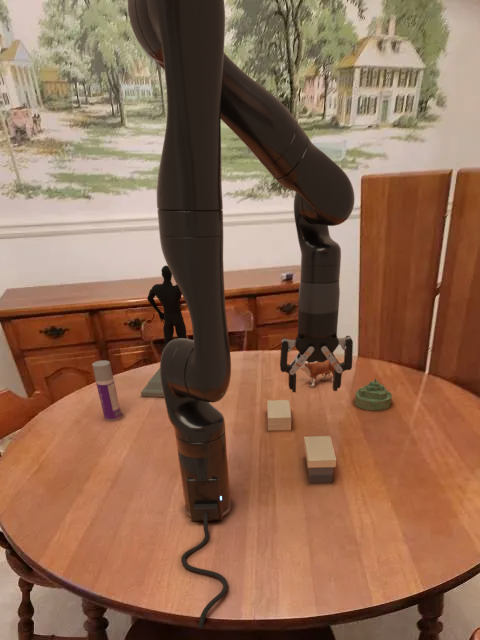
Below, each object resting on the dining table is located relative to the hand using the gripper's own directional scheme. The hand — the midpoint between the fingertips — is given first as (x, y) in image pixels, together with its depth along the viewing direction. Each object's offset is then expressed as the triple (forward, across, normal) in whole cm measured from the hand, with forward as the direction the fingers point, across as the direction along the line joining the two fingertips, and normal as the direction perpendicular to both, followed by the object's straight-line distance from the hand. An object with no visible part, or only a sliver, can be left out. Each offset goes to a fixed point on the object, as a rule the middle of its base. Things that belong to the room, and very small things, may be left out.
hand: (314, 390), depth 101 cm
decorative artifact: (+18, +21, +34) cm, 44 cm away
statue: (+18, -35, +51) cm, 65 cm away
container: (+18, -52, +30) cm, 63 cm away
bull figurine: (+18, +7, +50) cm, 54 cm away
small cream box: (+18, -6, +24) cm, 31 cm away
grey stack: (+18, +2, -2) cm, 18 cm away
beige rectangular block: (+14, +2, -2) cm, 14 cm away
